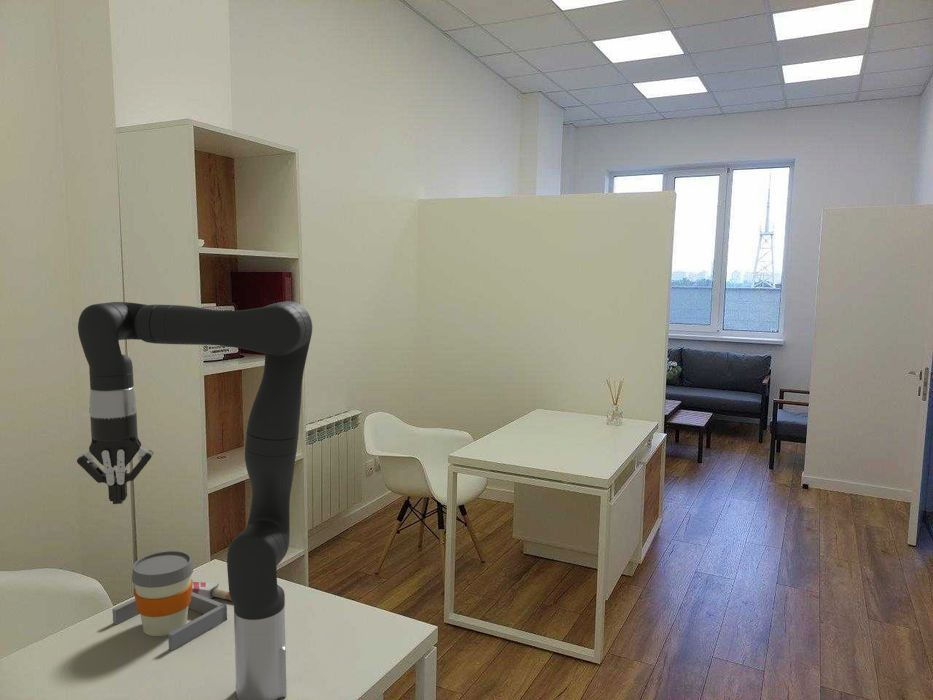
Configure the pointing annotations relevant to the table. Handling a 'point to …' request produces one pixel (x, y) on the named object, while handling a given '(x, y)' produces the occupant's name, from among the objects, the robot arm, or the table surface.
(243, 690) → the robot arm
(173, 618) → the reusable coffee cup
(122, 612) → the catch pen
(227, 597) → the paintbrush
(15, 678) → the table surface
